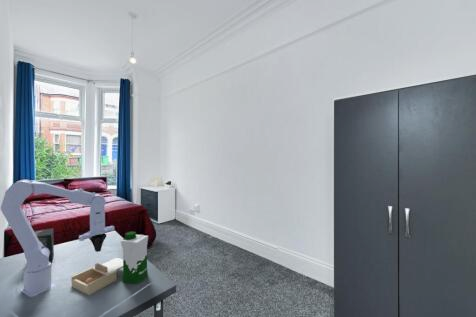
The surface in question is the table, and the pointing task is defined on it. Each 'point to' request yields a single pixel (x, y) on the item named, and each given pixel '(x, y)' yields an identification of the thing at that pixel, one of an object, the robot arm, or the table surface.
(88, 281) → the ball
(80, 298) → the table surface
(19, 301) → the table surface
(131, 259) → the milk carton
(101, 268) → the lid
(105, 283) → the box
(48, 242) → the tampon box
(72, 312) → the table surface
